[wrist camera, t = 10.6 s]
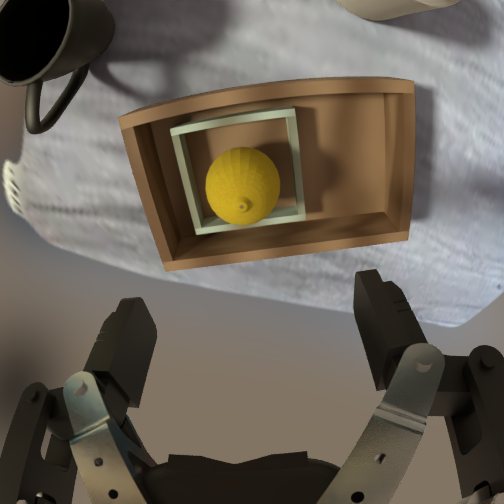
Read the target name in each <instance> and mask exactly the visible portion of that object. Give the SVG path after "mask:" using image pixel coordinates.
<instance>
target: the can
mask: <svg viewBox="0 0 504 504" xmlns="http://www.w3.org/2000/svg"><path fill="white" fill-rule="evenodd" d="M336 1H337V2H338V3H339V4H340V5H341V6H343V7H344V8H345V9H346V10H347V11H349V12H351V13H353V14H355V15H357V16H359V17H361V18H365V19H369V20H373V21H377V20H388V19H392V18H396V17H400V16H404V15H408V14H413V13H417V12H422V11H427V10H432V9H438V8H444V7H448V6H451V5H454V4H457V3H458V2H459V1H460V0H336Z"/></svg>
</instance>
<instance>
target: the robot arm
mask: <svg viewBox="0 0 504 504" xmlns="http://www.w3.org/2000/svg"><path fill="white" fill-rule="evenodd" d="M353 308H354V315H355V319H356V323H357V325H358V329H359V332H360V336H361V339H362V342H363V345H364V349H365V352H366V355H367V359H368V362H369V366H370V369H371V373H372V376H373V379H374V383H375V387H376V390H377V391H379V390H384V389H386V393H385V395H384V397H383V399H382V401H381V403H380V405H379V406H378V407H377V408H376V410H375V411H374V413H373V415H372V417H371V419H370V420H369V422H368V424H367V426H366V428H365V429H364V431H363V433H362V435H361V437H360V438H359V440H358V441H357V443H356V445H355V447H354V448H353V450H352V451H351V453H350V455H349V456H348V458H347V459H346V461H345V463H344V464H343V466H342V467H341V468H340V467H338V466H336V465H334V464H332V463H329V462H325V461H322V460H318V459H311V458H307V457H308V456H307V451H303V452H295V453H284V454H271V455H268V456H265V457H261V458H258V459H254V460H250V461H246V462H243V463H239V464H231V463H226V462H222V461H218V460H214V459H210V458H206V457H203V456H190V455H173V454H169V458H168V462H166V463H162V464H159V465H158V464H157V463H156V462H155V460H154V459H153V458H152V457H151V456H150V455H149V453H148V452H147V450H146V448H145V447H144V445H143V443H142V441H141V439H140V437H139V436H138V434H137V432H136V430H135V428H134V426H133V424H132V422H131V420H130V418H129V416H128V415H127V414H126V412H127V408H128V407H135V408H139V405H140V400H141V396H142V392H143V388H144V384H145V381H146V377H147V372H148V369H149V365H150V362H151V358H152V354H153V351H154V347H155V344H156V339H157V329H156V325H155V323H154V321H153V319H152V317H151V315H150V313H149V311H148V309H147V307H146V305H145V303H144V301H143V299H142V298H140V297H135V298H124V299H122V300H121V301H120V303H119V305H118V307H117V310H116V312H112V313H111V315H110V316H109V317H108V318H107V319H106V320H105V321H104V323H103V325H102V328H101V330H100V334H99V335H98V337H97V339H96V342H95V343H94V346H93V348H92V351H91V353H90V355H89V358H88V361H87V362H86V365H85V367H84V370H83V372H78V373H76V374H74V375H72V376H71V377H70V378H69V379H68V380H67V381H66V383H65V385H64V387H61V388H57V389H53V390H48V388H47V387H46V386H45V385H44V384H42V383H40V382H35V383H32V384H30V385H29V386H28V387H27V388H26V389H25V390H24V391H23V393H22V395H21V398H20V401H19V403H18V406H17V409H16V411H15V414H14V417H13V419H12V422H11V425H10V428H9V431H8V434H7V437H6V440H5V444H4V447H3V450H2V454H1V457H0V504H72V497H73V491H74V485H75V479H76V474H77V469H78V470H79V472H80V475H81V478H82V480H83V483H84V485H85V487H86V490H87V492H88V495H89V497H90V499H91V502H92V504H389V502H390V500H391V498H392V497H393V495H394V493H395V491H396V489H397V488H398V486H399V484H400V482H401V480H402V478H403V476H404V474H405V473H406V470H407V469H408V466H409V464H410V462H411V460H412V458H413V456H414V454H415V451H416V449H417V447H418V445H419V443H420V440H421V438H422V436H423V433H424V430H425V428H426V419H427V416H444V418H445V421H446V425H447V429H448V433H449V437H450V441H451V445H452V450H453V454H454V459H455V463H456V468H457V473H458V478H459V483H460V489H461V494H462V499H461V500H460V501H459V502H458V503H457V504H504V357H503V355H502V354H501V353H500V352H499V351H498V350H497V349H496V348H494V347H491V346H488V345H482V346H478V347H476V348H474V349H473V350H472V352H471V353H470V355H469V356H448V355H443V354H442V352H441V351H440V350H439V349H438V348H437V347H435V346H433V345H431V344H428V342H427V340H426V338H425V336H424V334H423V332H422V329H421V327H420V325H419V323H418V321H417V319H416V317H415V315H414V313H413V311H412V310H411V307H410V305H409V303H408V302H407V299H406V297H405V295H404V293H403V292H402V290H401V289H400V288H399V287H398V286H397V285H396V284H394V283H393V282H392V281H387V282H383V281H382V279H381V277H380V275H379V273H378V271H377V270H376V269H372V270H366V271H359V272H356V274H355V286H354V301H353ZM46 429H47V430H48V431H50V432H51V433H52V434H51V438H50V442H49V445H48V449H47V453H46V457H45V460H44V459H43V458H42V456H41V452H40V451H41V446H42V442H43V438H44V435H45V431H46Z"/></svg>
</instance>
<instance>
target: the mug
mask: <svg viewBox="0 0 504 504" xmlns="http://www.w3.org/2000/svg"><path fill="white" fill-rule="evenodd" d="M114 30H115V24H114V19H113V17H112V15H111V13H110V12H109V11H108V9H107V8H106V6H105V5H104V3H103V2H102V1H101V0H5V1H4V3H3V4H2V6H1V7H0V81H2V82H3V83H4V84H7V85H11V86H14V87H18V86H27V91H26V101H25V122H26V128H27V131H28V132H29V133H30V134H40V133H43V132H45V131H47V130H49V129H50V128H51V127H53V126H54V124H55V123H56V122H57V121H58V119H59V118H60V116H61V115H62V113H63V112H64V110H65V109H66V108H67V106H68V105H69V103H70V102H71V100H72V99H73V97H74V96H75V94H76V93H77V91H78V90H79V88H80V87H81V85H82V84H83V82H84V80H85V78H86V76H87V74H88V70H89V62H90V61H91V60H92V59H94V58H96V57H98V56H99V55H100V54H102V53H103V52H104V51H105V50H106V49H107V47H108V46H109V44H110V42H111V40H112V38H113V35H114ZM72 71H73V73H72V76H71V79H70V81H69V83H68V85H67V87H66V88H65V90H64V91H63V93H62V94H61V96H60V97H59V99H58V100H57V101H56V103H55V104H54V106H53V107H52V108H51V110H50V111H49V112H48V114H47V115H46V116H45V117H44V119H43V120H42V121H41V122H40V117H39V106H40V96H41V90H42V85H43V82H45V81H49V80H52V79H56V78H58V77H61V76H64V75H66V74H68V73H70V72H72Z"/></svg>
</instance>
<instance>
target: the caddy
mask: <svg viewBox="0 0 504 504" xmlns="http://www.w3.org/2000/svg"><path fill="white" fill-rule="evenodd" d="M118 120H119V124H120V128H121V132H122V136H123V139H124V143H125V147H126V150H127V154H128V158H129V161H130V165H131V168H132V171H133V175H134V178H135V182H136V185H137V188H138V191H139V195H140V198H141V201H142V204H143V207H144V210H145V213H146V216H147V219H148V222H149V225H150V228H151V231H152V234H153V237H154V240H155V243H156V246H157V249H158V251H159V254H160V257H161V260H162V263H163V265H164V268H165V271H175V270H183V269H191V268H199V267H207V266H215V265H223V264H231V263H239V262H247V261H255V260H263V259H271V258H279V257H286V256H294V255H302V254H309V253H317V252H325V251H332V250H340V249H347V248H355V247H362V246H370V245H377V244H384V243H392V242H399V241H406V240H408V237H409V229H410V220H411V210H412V198H413V185H414V167H415V90H414V81H412V80H406V79H399V78H392V77H326V78H309V79H296V80H285V81H276V82H267V83H259V84H252V85H245V86H239V87H232V88H226V89H221V90H215V91H210V92H205V93H200V94H195V95H190V96H186V97H181V98H177V99H173V100H169V101H165V102H161V103H157V104H153V105H149V106H146V107H142V108H139V109H136V110H134V111H132V112H129V113H127V114H125V115H123V116H120V117H118ZM237 147H250V148H253V149H257V150H259V151H261V152H262V153H264V154H266V155H267V156H268V157H269V158H270V159H271V161H272V162H273V163H274V165H275V167H276V169H277V170H278V174H279V178H280V194H279V197H278V200H277V203H276V205H275V207H274V208H273V210H272V211H271V213H270V214H269V215H268V216H266V217H265V218H264V219H263V220H261V221H259V222H257V223H255V224H251V225H244V226H240V225H234V224H231V223H228V222H226V221H224V220H223V219H221V218H220V217H219V216H218V215H217V214H216V213H215V212H214V211H213V210H212V208H211V206H210V204H209V202H208V199H207V194H206V189H205V187H206V177H207V174H208V171H209V168H210V166H211V165H212V164H213V162H214V161H215V159H216V158H217V157H219V156H220V155H221V154H222V153H224V152H225V151H228V150H230V149H232V148H237Z"/></svg>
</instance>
